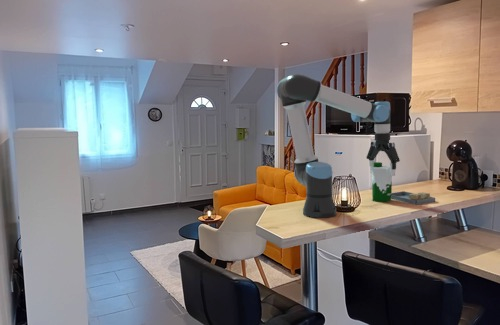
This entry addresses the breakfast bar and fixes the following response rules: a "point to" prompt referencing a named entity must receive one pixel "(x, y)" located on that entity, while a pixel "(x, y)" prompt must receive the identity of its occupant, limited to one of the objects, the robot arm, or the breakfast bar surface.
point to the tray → (404, 197)
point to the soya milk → (381, 183)
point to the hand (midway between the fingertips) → (382, 174)
